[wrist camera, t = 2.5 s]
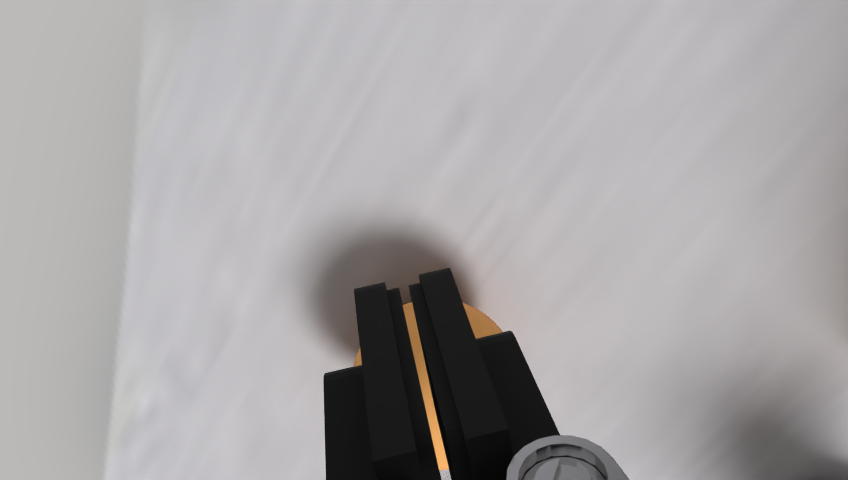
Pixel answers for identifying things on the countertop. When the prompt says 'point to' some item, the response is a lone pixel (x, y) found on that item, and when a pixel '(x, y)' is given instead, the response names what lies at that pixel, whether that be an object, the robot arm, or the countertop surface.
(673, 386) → the countertop surface
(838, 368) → the countertop surface
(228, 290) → the countertop surface
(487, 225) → the countertop surface
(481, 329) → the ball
